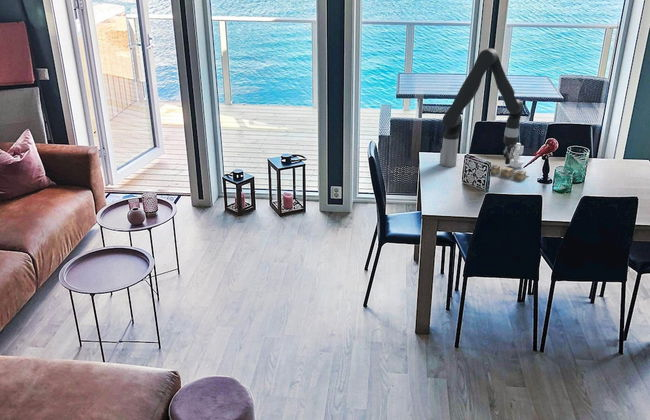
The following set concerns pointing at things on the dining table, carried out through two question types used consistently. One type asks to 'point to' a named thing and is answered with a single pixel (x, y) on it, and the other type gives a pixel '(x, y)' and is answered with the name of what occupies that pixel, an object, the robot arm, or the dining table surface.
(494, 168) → the marked block 1
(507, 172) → the plain block
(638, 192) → the dining table surface
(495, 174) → the mat
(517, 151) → the figurine
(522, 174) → the marked block 2
